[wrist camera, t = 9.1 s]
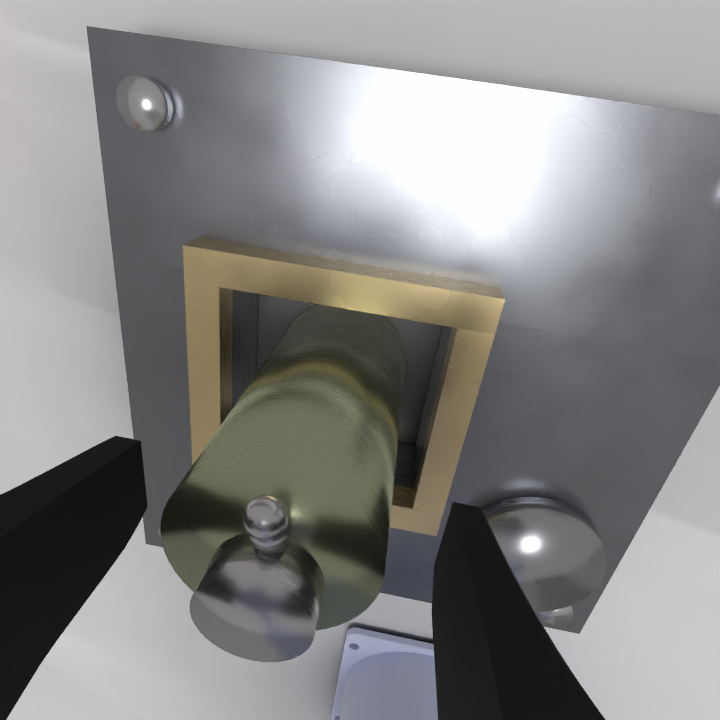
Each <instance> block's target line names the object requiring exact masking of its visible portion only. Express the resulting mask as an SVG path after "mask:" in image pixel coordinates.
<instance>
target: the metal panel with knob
mask: <svg viewBox="0 0 720 720" xmlns="http://www.w3.org/2000/svg"><path fill="white" fill-rule="evenodd" d="M87 34H88V42H89V51H90V60H91V69H92V77H93V86H94V95H95V103H96V112H97V121H98V129H99V138H100V147H101V156H102V164H103V173H104V182H105V190H106V199H107V208H108V217H109V225H110V234H111V243H112V251H113V260H114V269H115V278H116V286H117V295H118V304H119V312H120V321H121V330H122V338H123V347H124V356H125V365H126V373H127V382H128V391H129V399H130V408H131V417H132V426H133V434H134V440H139V441H141V447H142V457H143V466H144V476H145V486H146V495H147V505H148V507H147V509H146V511H145V513H144V515H143V521H144V530H145V539H146V544H150V545H155V546H159V547H163V544H162V541H161V533H160V526H161V517H162V514H163V510H164V508H165V506H166V504H167V501H168V500H169V498H170V497H171V495H172V494H173V493H174V491H175V490H176V488H177V487H178V485H179V484H180V483H181V481H182V480H183V478H184V477H185V475H186V474H187V473H188V471H189V470H190V468H191V467H192V465H193V464H194V463H195V461H196V460H197V458H198V457H199V456H200V454H201V453H202V451H203V450H204V448H205V447H206V446H207V444H208V443H209V441H210V440H211V438H212V437H213V436H214V434H215V433H216V431H217V430H218V428H219V427H220V426H221V424H222V423H223V421H224V420H225V418H226V417H227V416H228V414H229V413H230V411H231V410H232V408H233V407H234V406H235V404H236V403H237V401H238V400H239V399H240V397H241V396H242V394H243V393H244V391H245V390H246V389H247V387H248V386H249V384H250V383H251V381H252V380H253V379H254V377H255V376H256V365H257V334H258V303H259V294H262V295H268V296H274V297H280V298H285V299H291V300H297V301H303V302H309V303H314V304H320V305H326V306H332V307H337V308H343V309H349V310H355V311H361V312H366V313H372V314H378V315H384V316H390V317H395V318H401V319H407V320H413V321H419V322H424V323H430V324H436V325H442V326H443V329H442V333H441V338H440V342H439V346H438V350H437V355H436V359H435V363H434V368H433V372H432V376H431V381H430V385H429V389H428V394H427V398H426V402H425V407H424V411H423V415H422V419H421V424H420V428H419V432H418V437H417V441H416V445H411V444H405V443H400V442H398V448H397V458H396V468H395V478H394V488H393V498H392V507H391V517H390V527H389V537H388V547H387V557H386V567H385V575H384V580H383V585H382V587H381V589H380V592H381V593H386V594H390V595H395V596H400V597H405V598H410V599H414V600H419V601H424V602H429V603H432V594H433V574H434V564H435V560H436V557H437V553H438V550H439V547H440V543H441V540H442V537H443V533H444V530H445V527H446V523H447V520H448V516H449V513H450V510H451V506H452V503H453V502H456V503H461V504H466V505H471V506H476V507H481V509H482V510H483V512H484V513H485V516H486V518H487V520H488V522H489V524H490V527H491V529H492V531H493V533H494V535H495V537H496V540H497V542H498V544H499V546H500V548H501V550H502V552H503V554H504V556H505V558H506V560H507V562H508V564H509V566H510V568H511V570H512V572H513V574H514V575H515V577H516V579H517V581H518V583H519V585H520V586H521V588H522V590H523V592H524V594H525V596H526V597H527V599H528V601H529V603H530V605H531V606H532V608H533V610H534V612H535V613H536V615H537V617H538V619H539V620H540V622H541V624H542V625H543V626H544V627H549V628H554V629H559V630H564V631H568V632H573V633H578V634H579V633H580V631H581V630H582V628H583V626H584V624H585V623H586V621H587V619H588V617H589V616H590V614H591V612H592V610H593V608H594V607H595V605H596V603H597V601H598V600H599V598H600V596H601V594H602V593H603V591H604V589H605V587H606V585H607V584H608V582H609V580H610V578H611V577H612V575H613V573H614V571H615V570H616V568H617V566H618V564H619V562H620V561H621V559H622V557H623V555H624V554H625V552H626V550H627V548H628V547H629V545H630V543H631V541H632V539H633V538H634V536H635V534H636V532H637V531H638V529H639V527H640V525H641V524H642V522H643V520H644V518H645V516H646V515H647V513H648V511H649V509H650V508H651V506H652V504H653V502H654V501H655V499H656V497H657V495H658V493H659V492H660V490H661V488H662V486H663V485H664V483H665V481H666V479H667V478H668V476H669V474H670V472H671V470H672V469H673V467H674V465H675V463H676V462H677V460H678V458H679V456H680V455H681V453H682V451H683V449H684V447H685V446H686V444H687V442H688V440H689V439H690V437H691V435H692V433H693V432H694V430H695V428H696V426H697V425H698V423H699V421H700V419H701V417H702V416H703V414H704V412H705V410H706V409H707V407H708V405H709V403H710V402H711V400H712V398H713V396H714V394H715V393H716V391H717V389H718V387H719V386H720V116H719V115H712V114H705V113H698V112H691V111H684V110H677V109H670V108H663V107H656V106H649V105H641V104H634V103H627V102H620V101H613V100H606V99H599V98H592V97H585V96H578V95H571V94H564V93H556V92H549V91H542V90H535V89H528V88H521V87H514V86H507V85H500V84H493V83H486V82H478V81H471V80H464V79H457V78H450V77H443V76H436V75H429V74H422V73H415V72H408V71H400V70H393V69H386V68H379V67H372V66H365V65H358V64H351V63H344V62H337V61H330V60H322V59H315V58H308V57H301V56H294V55H287V54H280V53H273V52H266V51H259V50H252V49H244V48H237V47H230V46H223V45H216V44H209V43H202V42H195V41H188V40H181V39H174V38H166V37H159V36H152V35H145V34H138V33H131V32H124V31H117V30H110V29H103V28H96V27H88V26H87Z"/></svg>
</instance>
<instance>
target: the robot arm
mask: <svg viewBox="0 0 720 720" xmlns="http://www.w3.org/2000/svg"><path fill="white" fill-rule="evenodd" d="M147 507H148V505H147V495H146V486H145V476H144V466H143V457H142V447H141V441H139V440H134V439H129V438H124V437H118V436H115V437H113V438H110V439H108V440H106V441H104V442H102V443H100V444H98V445H96V446H94V447H92V448H90V449H89V450H87V451H85V452H83V453H81V454H79V455H77V456H75V457H73V458H71V459H70V460H68V461H66V462H64V463H62V464H60V465H58V466H56V467H54V468H52V469H50V470H49V471H47V472H45V473H43V474H41V475H39V476H37V477H35V478H33V479H31V480H29V481H27V482H25V483H23V484H22V485H20V486H18V487H16V488H14V489H12V490H10V491H8V492H5V493H3V494H1V495H0V720H6V719H7V717H8V716H9V714H10V712H11V711H12V709H13V708H14V706H15V704H16V703H17V701H18V699H19V698H20V696H21V695H22V693H23V691H24V690H25V688H26V686H27V685H28V683H29V682H30V680H31V678H32V677H33V675H34V674H35V672H36V670H37V669H38V667H39V665H40V664H41V662H42V661H43V660H44V658H45V657H46V655H47V654H48V652H49V651H50V649H51V648H52V646H53V645H54V644H55V642H56V641H57V639H58V638H59V637H60V635H61V634H62V633H63V631H64V630H65V629H66V627H67V626H68V625H69V623H70V622H71V620H72V619H73V618H74V616H75V615H76V614H77V612H78V611H79V610H80V608H81V607H82V606H83V604H84V603H85V602H86V600H87V599H88V598H89V596H90V595H91V594H92V592H93V591H94V589H95V588H96V587H97V585H98V584H99V583H100V581H101V580H102V579H103V577H104V576H105V575H106V573H107V572H108V570H109V569H110V568H111V566H112V565H113V564H114V562H115V561H116V559H117V558H118V557H119V555H120V554H121V552H122V551H123V550H124V548H125V547H126V545H127V543H128V541H129V540H130V538H131V536H132V535H133V533H134V531H135V529H136V528H137V526H138V524H139V522H140V520H141V518H142V517H143V515H144V513H145V511H146V509H147ZM432 627H433V644H431V643H427V642H422V641H417V640H413V639H408V638H403V637H399V636H394V635H389V634H385V633H380V632H375V631H370V630H366V629H361V628H355V627H354V628H350V629H349V630H348V631H347V633H346V638H345V644H344V649H343V654H342V659H341V665H340V670H339V675H338V680H337V686H336V691H335V696H334V701H333V707H332V712H331V717H330V720H605V719H604V717H603V716H602V714H601V713H600V712H599V710H598V709H597V708H596V706H595V705H594V703H593V702H592V700H591V699H590V698H589V696H588V695H587V693H586V692H585V690H584V689H583V688H582V686H581V685H580V683H579V682H578V680H577V679H576V677H575V676H574V674H573V673H572V671H571V670H570V668H569V667H568V665H567V664H566V662H565V661H564V659H563V658H562V656H561V654H560V653H559V651H558V650H557V648H556V647H555V645H554V643H553V642H552V640H551V638H550V637H549V635H548V633H547V632H546V630H545V629H544V627H543V625H542V624H541V622H540V620H539V619H538V617H537V615H536V613H535V612H534V610H533V608H532V606H531V605H530V603H529V601H528V599H527V597H526V596H525V594H524V592H523V590H522V588H521V586H520V585H519V583H518V581H517V579H516V577H515V575H514V574H513V572H512V570H511V568H510V566H509V564H508V562H507V560H506V558H505V556H504V554H503V552H502V550H501V548H500V546H499V544H498V542H497V540H496V537H495V535H494V533H493V531H492V529H491V527H490V524H489V522H488V520H487V518H486V516H485V513H484V512H483V510H482V509H481V507H476V506H471V505H466V504H461V503H456V502H453V503H452V506H451V510H450V513H449V516H448V520H447V523H446V527H445V530H444V533H443V537H442V540H441V543H440V547H439V550H438V553H437V557H436V560H435V564H434V574H433V594H432Z"/></svg>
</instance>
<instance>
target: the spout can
mask: <svg viewBox="0 0 720 720" xmlns="http://www.w3.org/2000/svg"><path fill="white" fill-rule="evenodd" d="M405 369H406V353H405V348H404V344H403V341H402V339H401V336H400V335H399V333H398V331H397V330H396V328H395V327H394V326H393V324H392V323H391V322H390V321H389V320H388V319H387V318H386V317H385V316H384V315H378V314H372V313H366V312H361V311H355V310H349V309H343V308H337V307H332V306H326V305H320V304H316V305H314V306H312V307H310V308H308V309H306V310H305V311H304V312H302V313H301V314H300V315H299V316H298V317H297V318H296V319H295V320H294V322H293V323H292V324H291V326H290V327H289V329H288V330H287V332H286V333H285V334H284V336H283V337H282V339H281V340H280V342H279V343H278V344H277V346H276V347H275V349H274V350H273V352H272V353H271V354H270V356H269V357H268V359H267V360H266V361H265V363H264V364H263V366H262V367H261V369H260V370H259V371H258V373H257V374H256V376H255V377H254V379H253V380H252V381H251V383H250V384H249V386H248V387H247V389H246V390H245V391H244V393H243V394H242V396H241V397H240V399H239V400H238V401H237V403H236V404H235V406H234V407H233V408H232V410H231V411H230V413H229V414H228V416H227V417H226V418H225V420H224V421H223V423H222V424H221V426H220V427H219V428H218V430H217V431H216V433H215V434H214V436H213V437H212V438H211V440H210V441H209V443H208V444H207V446H206V447H205V448H204V450H203V451H202V453H201V454H200V456H199V457H198V458H197V460H196V461H195V463H194V464H193V465H192V467H191V468H190V470H189V471H188V473H187V474H186V475H185V477H184V478H183V480H182V481H181V483H180V484H179V485H178V487H177V488H176V490H175V491H174V493H173V494H172V495H171V497H170V498H169V500H168V501H167V504H166V506H165V508H164V510H163V514H162V517H161V526H160V533H161V541H162V544H163V548H164V551H165V554H166V556H167V558H168V560H169V562H170V564H171V565H172V567H173V569H174V570H175V572H176V573H177V574H178V576H179V577H180V578H181V579H182V581H183V582H184V583H185V584H186V585H187V586H188V587H189V588H190V589H191V590H192V591H193V592H194V594H193V596H192V598H191V601H190V613H191V617H192V620H193V622H194V624H195V625H196V627H197V628H198V630H199V631H200V632H201V633H202V634H203V635H204V636H205V637H206V638H207V639H208V640H209V641H211V642H212V643H213V644H215V645H216V646H218V647H219V648H221V649H223V650H225V651H227V652H229V653H231V654H233V655H236V656H239V657H242V658H245V659H249V660H254V661H261V662H279V661H285V660H289V659H292V658H295V657H297V656H299V655H301V654H302V653H304V652H305V651H306V650H307V649H308V648H309V647H310V645H311V643H312V641H313V638H314V634H315V630H321V629H327V628H330V627H334V626H338V625H340V624H343V623H345V622H348V621H350V620H351V619H353V618H355V617H357V616H358V615H360V614H361V613H362V612H363V611H365V610H366V609H367V608H368V607H369V606H370V605H371V604H372V603H373V601H374V600H375V598H376V597H377V595H378V594H379V592H380V589H381V587H382V585H383V580H384V575H385V567H386V557H387V547H388V537H389V527H390V517H391V507H392V498H393V488H394V478H395V468H396V458H397V448H398V438H399V428H400V419H401V409H402V399H403V389H404V379H405Z"/></svg>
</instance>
